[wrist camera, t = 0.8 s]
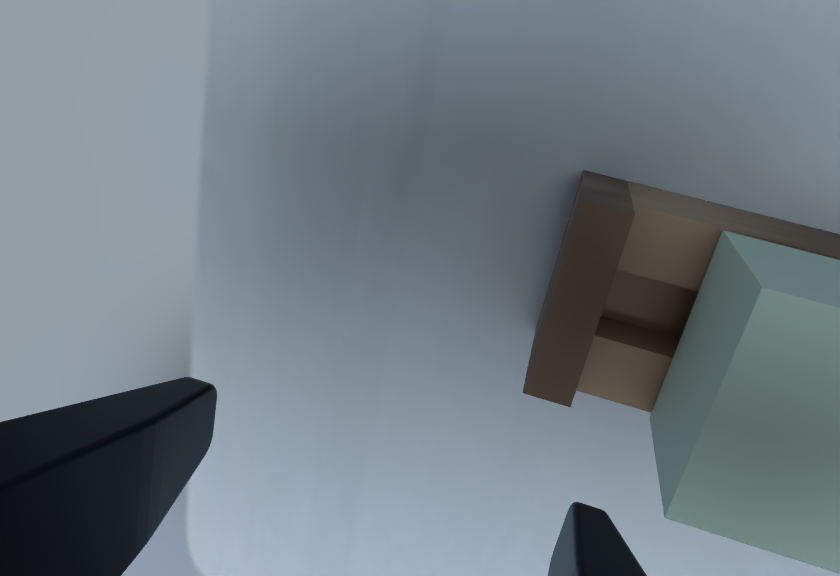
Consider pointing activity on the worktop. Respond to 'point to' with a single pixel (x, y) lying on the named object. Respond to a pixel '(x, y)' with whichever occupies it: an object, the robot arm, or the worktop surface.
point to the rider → (757, 403)
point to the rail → (634, 287)
